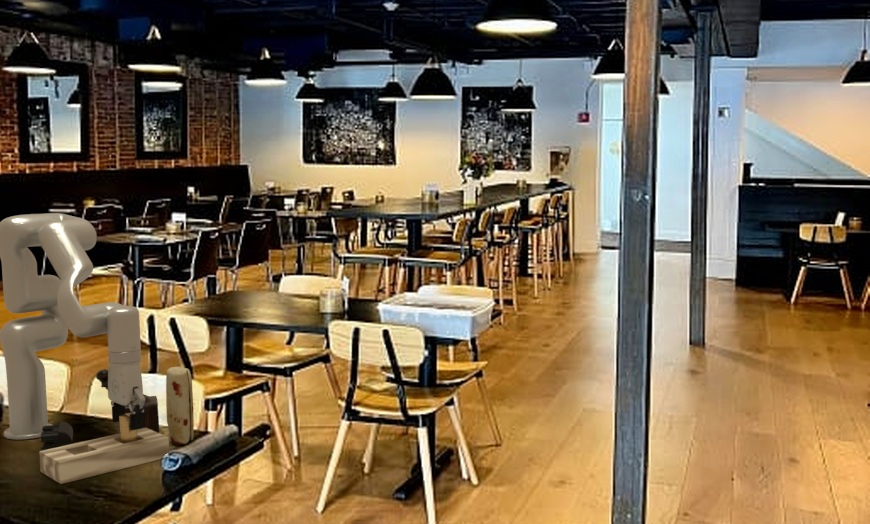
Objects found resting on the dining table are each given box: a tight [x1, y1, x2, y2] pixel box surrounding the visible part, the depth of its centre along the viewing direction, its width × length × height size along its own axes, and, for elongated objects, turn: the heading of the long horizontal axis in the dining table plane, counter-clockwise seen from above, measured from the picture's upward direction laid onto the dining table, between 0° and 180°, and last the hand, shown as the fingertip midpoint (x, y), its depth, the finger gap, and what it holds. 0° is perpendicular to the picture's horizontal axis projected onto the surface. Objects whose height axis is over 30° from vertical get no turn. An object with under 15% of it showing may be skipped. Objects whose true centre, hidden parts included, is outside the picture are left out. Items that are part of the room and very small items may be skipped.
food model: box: [165, 366, 195, 446], centre depth 239 cm, size 10×7×20 cm
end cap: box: [40, 421, 74, 451], centre depth 233 cm, size 10×7×7 cm
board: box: [38, 428, 170, 485], centre depth 223 cm, size 12×27×5 cm, turn 134°
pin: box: [119, 413, 137, 444], centre depth 227 cm, size 4×4×11 cm
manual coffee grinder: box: [95, 368, 160, 434], centre depth 245 cm, size 16×11×18 cm
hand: (127, 424), depth 227 cm, fingers open, 9 cm apart
